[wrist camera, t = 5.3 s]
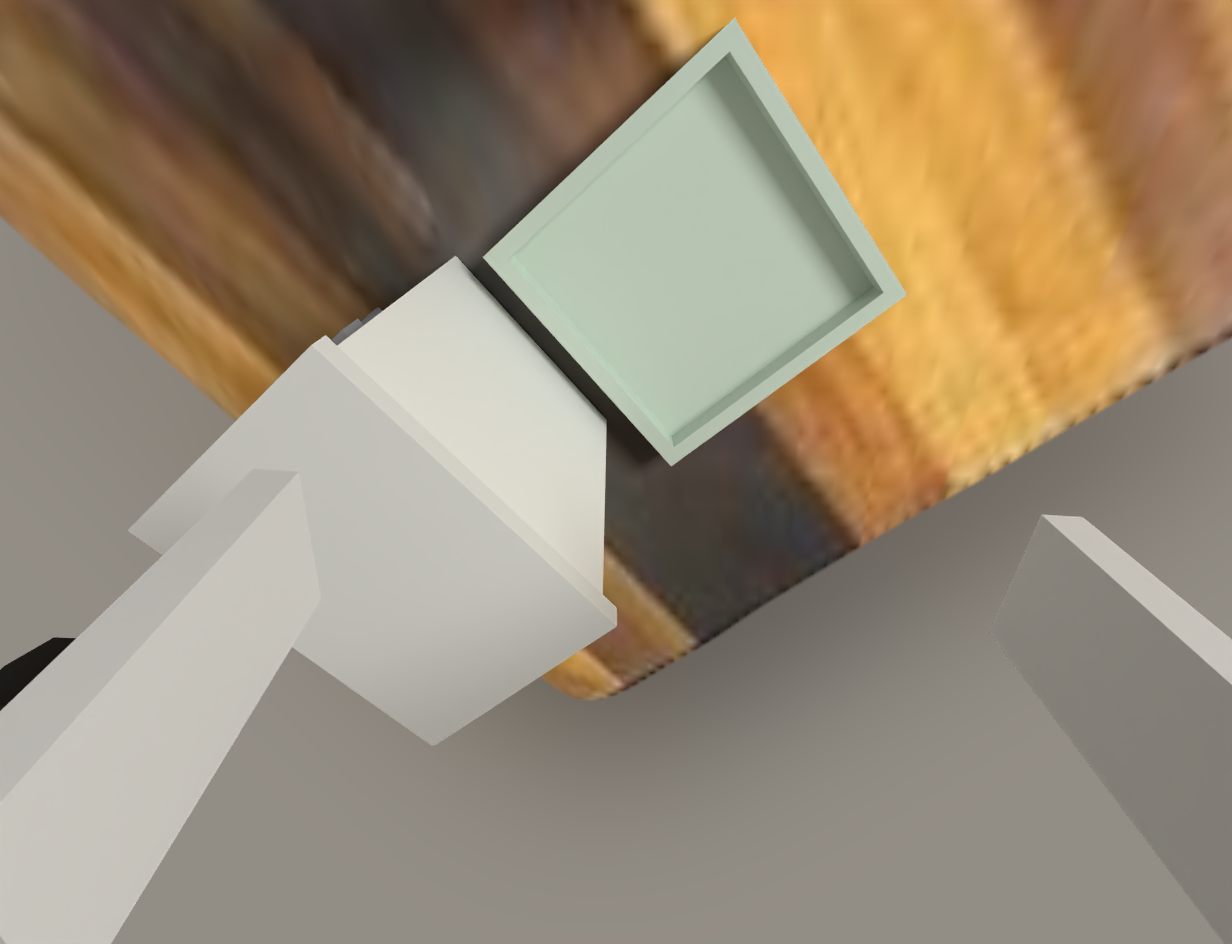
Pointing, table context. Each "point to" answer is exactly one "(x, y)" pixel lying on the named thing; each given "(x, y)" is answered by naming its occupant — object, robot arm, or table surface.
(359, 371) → the block
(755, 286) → the tray
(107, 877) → the robot arm
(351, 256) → the table surface
